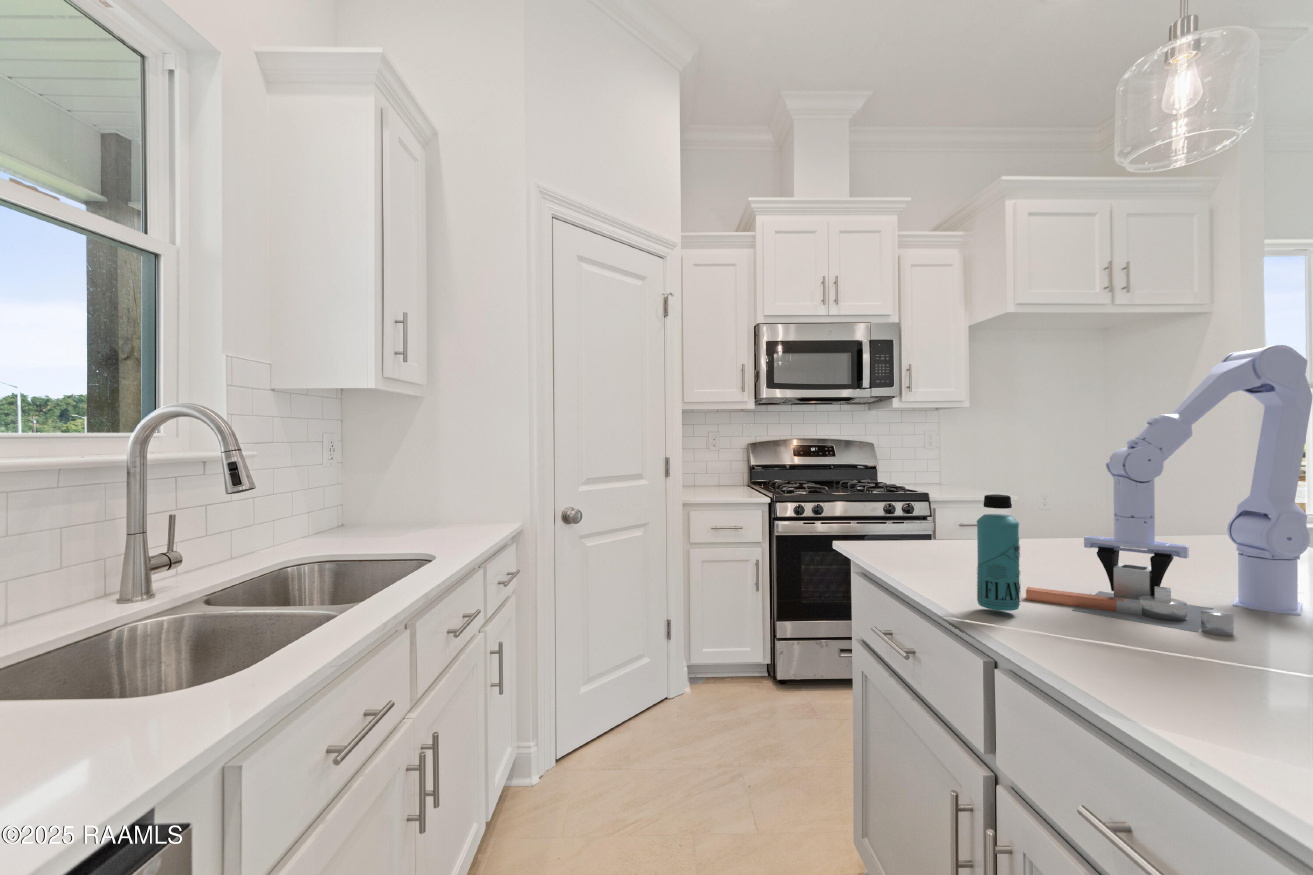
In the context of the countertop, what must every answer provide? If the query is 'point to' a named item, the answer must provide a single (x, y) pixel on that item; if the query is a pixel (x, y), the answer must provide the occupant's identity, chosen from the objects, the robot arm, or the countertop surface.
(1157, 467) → the robot arm
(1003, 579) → the beverage bottle
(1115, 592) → the socket
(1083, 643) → the countertop surface
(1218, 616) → the socket
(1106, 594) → the mat
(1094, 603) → the ratchet
